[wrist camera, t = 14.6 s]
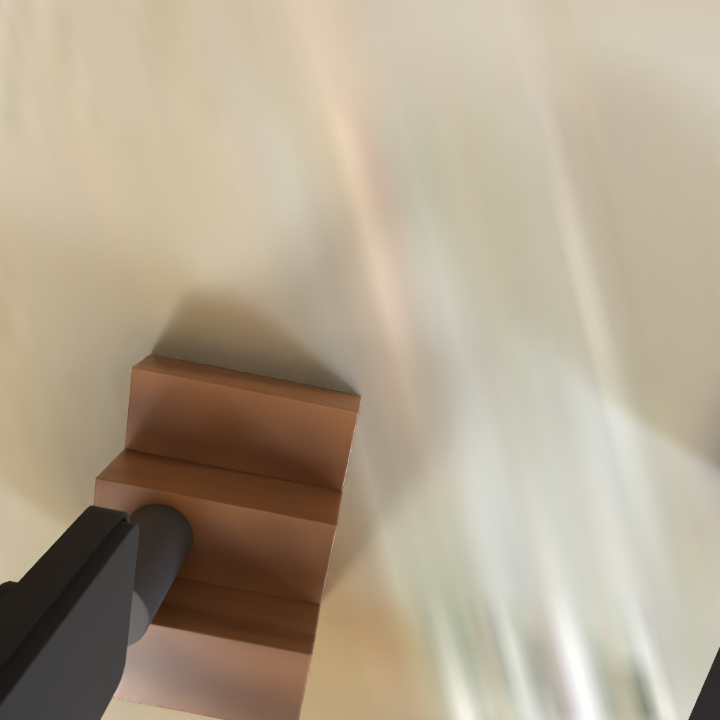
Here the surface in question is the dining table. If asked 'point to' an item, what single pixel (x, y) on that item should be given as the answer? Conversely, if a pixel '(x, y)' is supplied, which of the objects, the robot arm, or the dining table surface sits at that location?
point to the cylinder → (156, 561)
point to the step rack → (233, 532)
